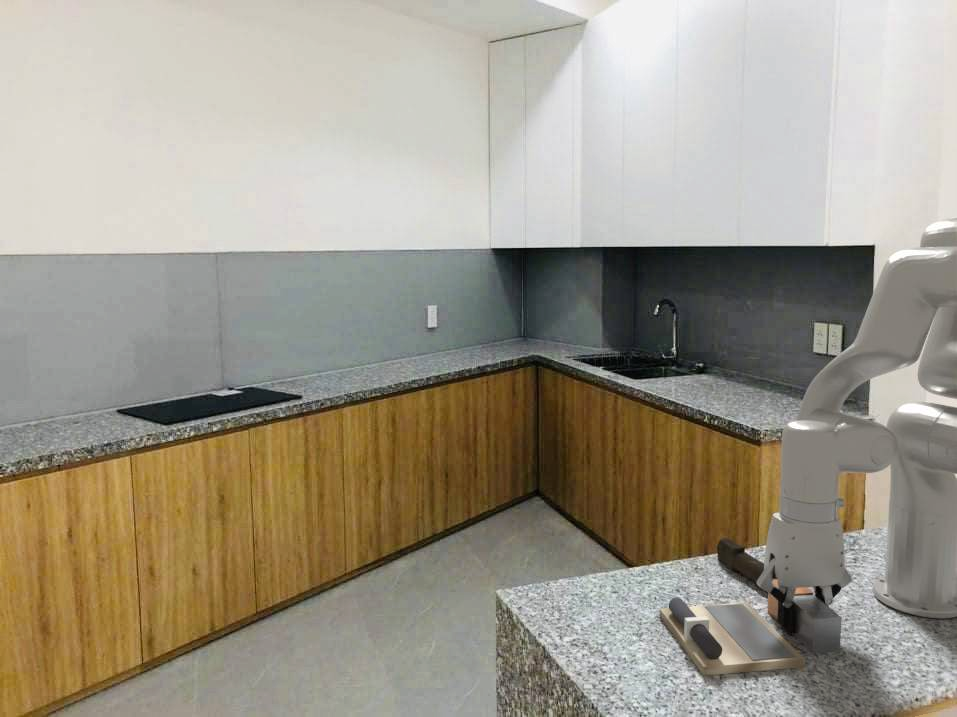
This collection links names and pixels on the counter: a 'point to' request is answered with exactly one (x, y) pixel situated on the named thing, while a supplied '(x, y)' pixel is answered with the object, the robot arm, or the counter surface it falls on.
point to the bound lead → (695, 628)
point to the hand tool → (739, 559)
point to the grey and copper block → (812, 621)
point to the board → (736, 640)
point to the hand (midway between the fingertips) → (802, 626)
